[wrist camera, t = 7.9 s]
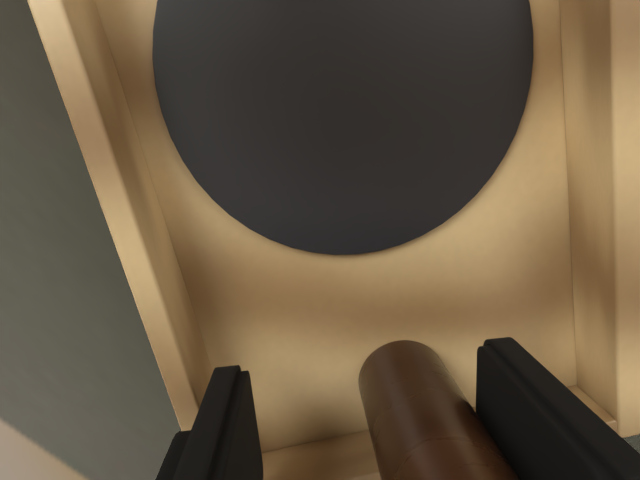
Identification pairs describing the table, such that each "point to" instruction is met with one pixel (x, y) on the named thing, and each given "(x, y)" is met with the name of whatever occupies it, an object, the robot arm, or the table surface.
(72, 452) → the table surface
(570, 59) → the tray
